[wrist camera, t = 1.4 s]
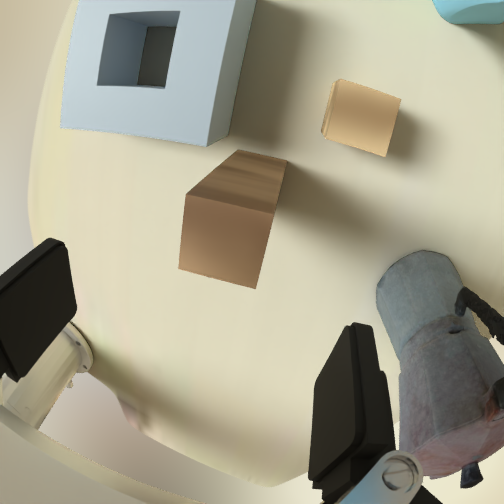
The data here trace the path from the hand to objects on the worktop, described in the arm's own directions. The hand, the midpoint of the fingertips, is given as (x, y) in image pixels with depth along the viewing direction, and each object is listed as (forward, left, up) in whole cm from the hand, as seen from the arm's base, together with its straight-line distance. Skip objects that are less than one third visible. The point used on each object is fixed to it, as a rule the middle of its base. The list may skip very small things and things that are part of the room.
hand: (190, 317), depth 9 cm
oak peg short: (+7, -6, -18) cm, 20 cm away
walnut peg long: (0, 0, -18) cm, 18 cm away
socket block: (+9, +9, -18) cm, 22 cm away
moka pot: (-6, -17, -18) cm, 25 cm away
